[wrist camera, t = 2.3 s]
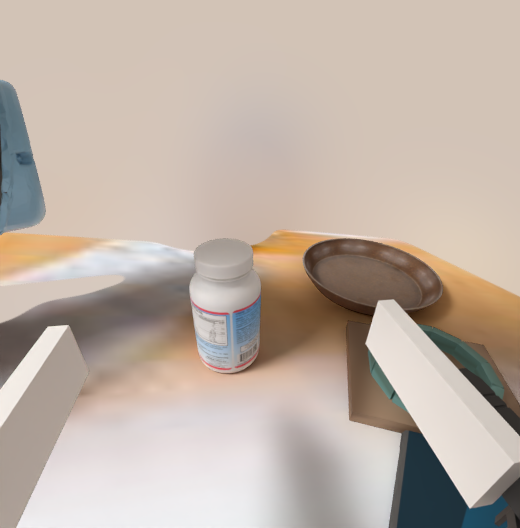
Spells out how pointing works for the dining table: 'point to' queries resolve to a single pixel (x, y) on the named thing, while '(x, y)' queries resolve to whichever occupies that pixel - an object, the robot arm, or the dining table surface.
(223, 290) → the pill bottle
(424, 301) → the plant saucer
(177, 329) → the dining table surface
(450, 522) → the smartphone
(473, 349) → the holder board
